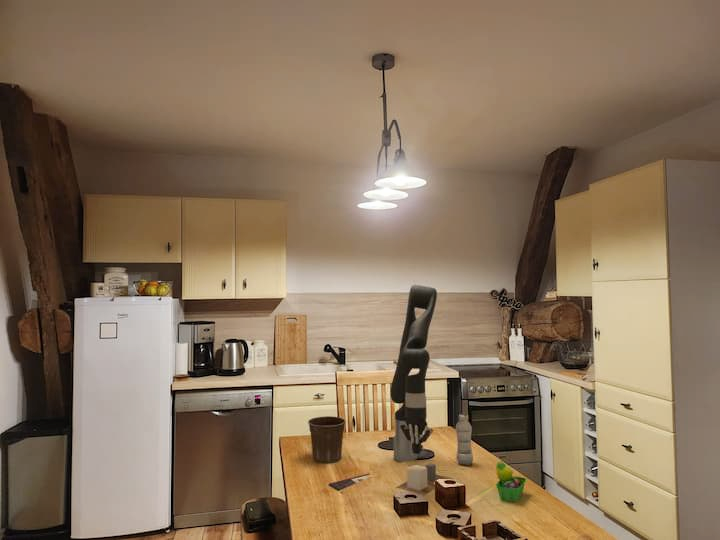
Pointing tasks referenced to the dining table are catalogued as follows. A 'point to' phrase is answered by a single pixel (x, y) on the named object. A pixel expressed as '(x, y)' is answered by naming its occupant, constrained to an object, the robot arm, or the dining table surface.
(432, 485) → the stand board
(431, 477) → the charcoal post
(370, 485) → the dining table surface
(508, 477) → the fruit basket
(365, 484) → the dining table surface
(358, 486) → the dining table surface
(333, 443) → the plant pot
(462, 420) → the plastic bottle
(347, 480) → the chocolate bar
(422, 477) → the cream block
